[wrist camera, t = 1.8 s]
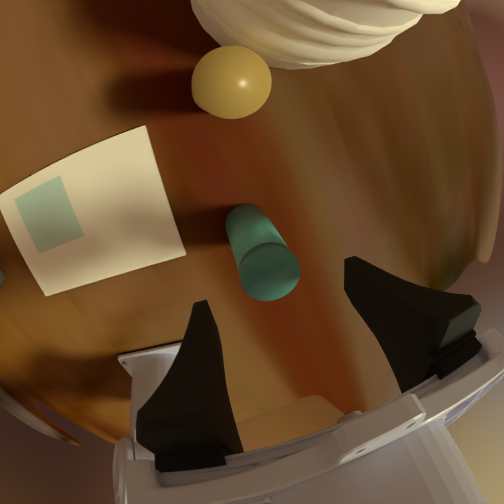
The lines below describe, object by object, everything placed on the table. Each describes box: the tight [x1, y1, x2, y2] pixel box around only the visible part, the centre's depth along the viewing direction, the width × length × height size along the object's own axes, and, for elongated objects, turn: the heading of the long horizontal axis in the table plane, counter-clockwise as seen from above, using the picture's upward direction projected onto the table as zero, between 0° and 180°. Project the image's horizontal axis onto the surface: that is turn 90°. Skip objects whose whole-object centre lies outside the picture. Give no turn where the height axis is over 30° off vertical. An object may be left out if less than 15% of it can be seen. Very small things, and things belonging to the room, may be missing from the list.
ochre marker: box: [192, 46, 272, 119], centre depth 13 cm, size 3×3×7 cm
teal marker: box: [225, 204, 300, 301], centre depth 18 cm, size 3×3×7 cm
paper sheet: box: [0, 125, 186, 296], centre depth 18 cm, size 10×14×1 cm
